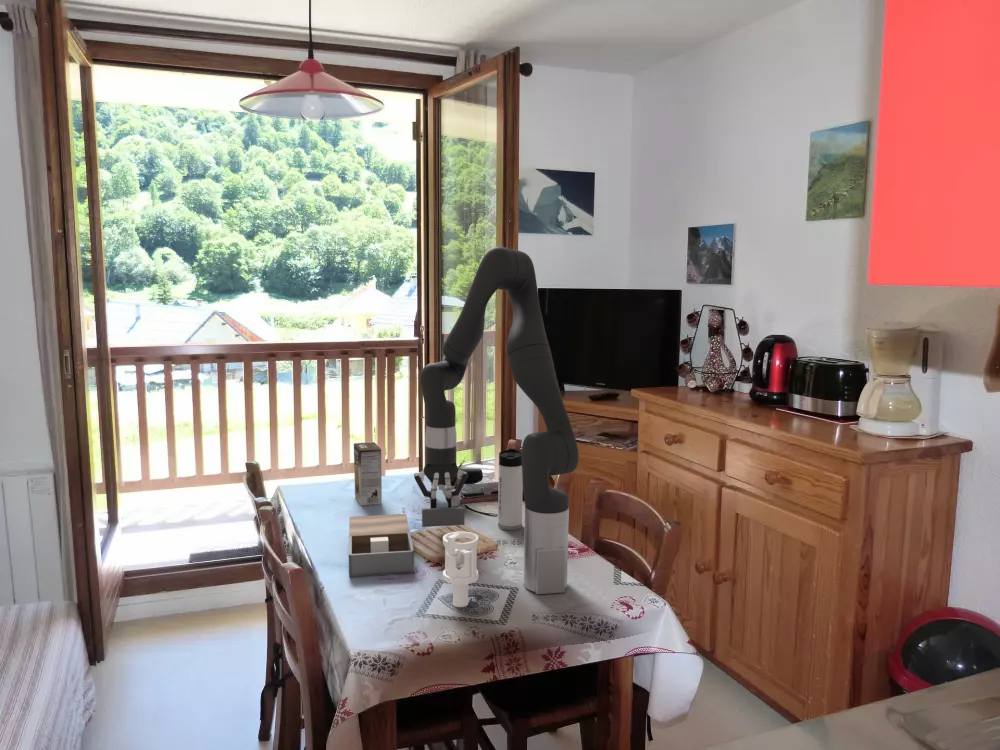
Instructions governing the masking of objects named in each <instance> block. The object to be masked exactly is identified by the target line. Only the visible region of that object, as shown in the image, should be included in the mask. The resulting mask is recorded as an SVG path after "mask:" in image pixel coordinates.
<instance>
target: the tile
mask: <svg viewBox="0 0 1000 750" xmlns="http://www.w3.org/2000/svg"><path fill="white" fill-rule="evenodd" d="M370 551H371V553H379V552H389V544H388V537H377V538H370Z"/></svg>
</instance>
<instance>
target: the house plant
mask: <svg viewBox="0 0 1000 750" xmlns="http://www.w3.org/2000/svg"><path fill="white" fill-rule="evenodd" d="M467 457H468V454H467V455H466V456H465V457H464V458H463V460H462V461H461V463H460V464H459V466H457V467H458V469H459V470H461V471H462V470H463V469H464V468H465V466H463V464H464V463H465V462H466V460H467V459H466V458H467ZM465 459H466V460H465ZM467 468H469V467H468V466H467ZM467 475H468V477H470V475H469V474H467ZM457 481H458V474H456V476H455V477H454V479H453V480H452V481H451V490H453V489H454V487H455V485H456V483H457ZM437 489H438V490H442V491H443V494H444V496H446V491H445V485H442V484H441V485H438V487H437ZM462 490H463V488H462V489H461V491H460V493H459V495H458V496H453V497H452V498H451V507H457V506H458V507H459V506H460V503H461V495H462Z"/></svg>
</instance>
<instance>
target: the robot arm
mask: <svg viewBox="0 0 1000 750" xmlns="http://www.w3.org/2000/svg"><path fill="white" fill-rule="evenodd" d="M537 285H538V283H537V277H536V269H535V266H534V263H533V260H532V258H531V257H530V255H528V254H527V253H526V252H523V251H521V250H519V249H518V250H517V249H513V248H508V247H504V246H493V247H491V248H490V249H489V250H487V251H486V252H485V254H484V255H483V257H482V258H481V261H480V263H479V265H478V267H477V270H476V272H475V275H474V278H473V280H472V283H471V285H470V288H469V290H468V293H467V295H466V299H465V302H464V304H463V307H462V310H461V312H460V313H459V315H458V318H457V319H456V322H455V324H454V325H453V327H452V328H451V330H450V332H449V334H448V335H447V337H446V339H445V340H444V342H443V344H442V347H441V351H442V354H443V356H444V358H443V360H442V361H438V362H431V363H427V364H426V365H424V366H423V368H422V370H421V373H420V377H419V386H420V389H421V393H422V394H421V395H422V399H423V403H424V405H425V409H426V414H425V415H426V417H425V419H426V421H425V422H426V424H425V425H426V429H425V436H424V437H425V438H424V443H425V448H424V449H425V452H424V453H425V455H424V456H425V463H424V464H425V465H424V467H423V469H422V470H421V471H420V472H415V473H414V474H413V478H414V480H415V482H416V484H417V486H418V488H419V490H420V491H421V493H422V495H423V496H424V497H425V498H429V499H430V500H429V501H430V502H429V503H430V505H429V506H430V508H436V500H437V499H436V493H437V490H438V485H441V484H442V485H445V491H446V496H445V499H446V500H447V502H448V508H450V507H451V498H452V497H453V496H458V495H459V493H460V491H461V489H462V490H463V487H464V486H465V483H466V481H467V479H468V478H469V476H468V475H469V474H468V473H467V471H464V470H462V469H461V470H459V469H458V467H459V466H457V428H456V424H457V423H456V419H457V418H456V415H457V414H456V412H457V411H456V405H455V403H454V402H453V401H451V400H449V399H448V400H447V397H446V393H445V391H449V390H453V389H455V388H456V387H458V385H460V383H461V382H462V381H463V378H464V377H465V374H466V371H467V368H468V364H469V360H470V358H471V356H472V355H473V353H474V351H475V350H476V349H477V347H478V345H479V344H480V342H481V340H482V337H483V335H484V331H485V319H486V310H487V306H488V303H489V302H490V300H491V298H492V297H493V295H494V294H495V293H496V291H497V290H501V291H506V292H508V294H509V299H510V301H511V307H512V311H513V318H512V323H511V327H510V330H509V333H508V337H507V342H506V354H507V357H508V363H509V367H510V371H511V376H512V377H513V380H514V381H515V383H516V385H518V387H519V389H521V391H523V393H524V394H525V395H526V396H527V397H528V398H529V400H530V401H531V402H532V403H533V404H534V405H535V407H536V408H537V409H538V411H539V413H540V415H541V416H542V419H543V421H544V424H545V428H546V431H538V432H532V433H529V434H527V435H526V436H525V438H523V442H522V447H521V452H522V480H523V492H522V494H523V496H524V497H523V498H524V535H523V536H524V539H523V542H524V544H523V549H524V550H523V552H524V553H523V586H524V588H526V590H529V591H530V592H531V591H532V592H533V593H535V594H536V595H547V594H548V595H549V594H558V593H559V594H560V593H561V594H562V593H566V589H567V588H568V563H569V562H568V560H569V559H568V558H569V556H568V555H569V521H570V520H569V519H570V517H569V515H570V514H569V513H570V497H569V494H568V493H567V492H566V491H564V490H562V489H559V488H555V487H551V486H550V480H549V479H550V478H549V477H552V476H559V475H564V474H570V473H573V472H575V470H576V469H577V467H578V465H579V461H580V460H579V459H580V458H579V457H580V455H579V447H578V442H577V439H576V435H575V432H574V430H573V426H572V424H571V421H570V418H569V415H568V413H567V409H566V408H565V404H564V400H563V396H562V393H561V390H560V386H559V381H558V378H557V373H556V370H555V363H554V360H553V355H552V351H551V347H550V343H549V340H548V337H547V333H546V328H545V324H544V320H543V314H542V311H541V310H542V309H541V306H540V298H539V291H538V286H537ZM456 474H458V478H457V480H458V481H457V483H456V485H455V487H454V489H453V490H451V481H452V480H453V479H454V477H455V476H456ZM425 477H426V478H427V479H428V480H429V482H430V490H428V489H427V487H426V485H425V483H424V481H425ZM461 492H462V491H461Z"/></svg>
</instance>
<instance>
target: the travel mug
mask: <svg viewBox="0 0 1000 750" xmlns="http://www.w3.org/2000/svg"><path fill="white" fill-rule="evenodd" d="M497 486H498V495H497V496H498V498H497V499H498V500H497V501H498V503H497V506H498V507H497V511H498V513H497V526H498V528H499V529H501V530H505V531H515V530H519V529H521V528H522V527H523V480H522V450H517V449H516V448H508V449H504V450H501V451H499V452H498V485H497Z"/></svg>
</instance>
